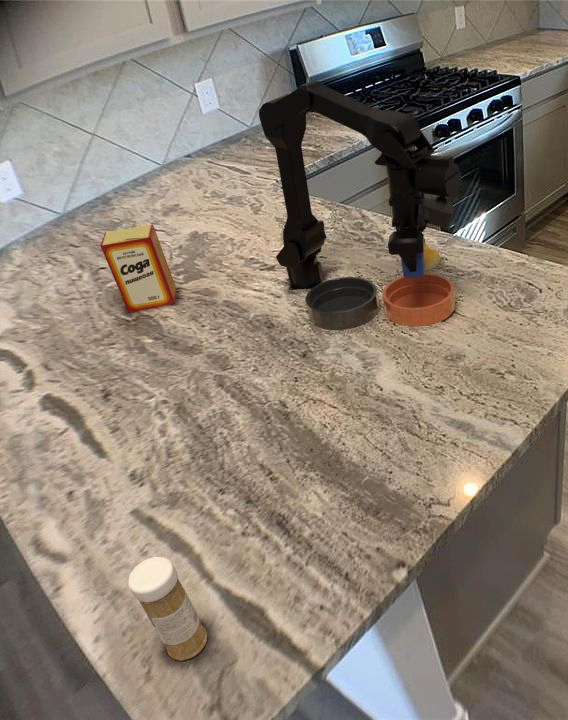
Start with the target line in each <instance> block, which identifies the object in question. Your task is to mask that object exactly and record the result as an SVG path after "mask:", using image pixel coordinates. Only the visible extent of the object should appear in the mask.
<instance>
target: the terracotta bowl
mask: <svg viewBox="0 0 568 720" xmlns="http://www.w3.org/2000/svg"><path fill="white" fill-rule="evenodd" d="M382 302H383V307H384V312H385V315H386V317H387V319H389V320H390V321H391V322H393V323H395V324H398V325H401V326H407V327H425V326H429V325H435V324H437V323H439V322H443V321H445V320H446V319H447V318H449V317H450V316H451V315H452V314H453V312H454V311H455V309H456V295H455V286H454V284H453V282H452V280H450V279H448V278H447V277H446V276H444V275H439V274H436V273H428V272H425V274H424V277H412V278H404V276H403V275H402V276H400V277H397V278H395V279H394V280H392V281H390V282H389V283H387V284H386V286H385V287H384V288H383V290H382Z"/></svg>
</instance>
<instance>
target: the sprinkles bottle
mask: <svg viewBox="0 0 568 720" xmlns="http://www.w3.org/2000/svg"><path fill="white" fill-rule="evenodd" d="M127 586H128V588H129V590H130V592H131V594H132V596H133V597H134V598H135V599H136V600H137V601H138V602H139V604H140V606H141V607H142V609H143V610H144V613H145V614H146V616H147V617H148V619H149V621H150V622H151V626H152V627H153V629H154V631H155V632H156V634H157V636H158V638H159V639H160V640H161V642H162V643H163V645H164V647H165V648H166V650H167V651H166V652H167V654H168V655H169V657H170V658H171V659H173V660H176V661H181V662H183V661H187V660H189V659H193V658H195V657H196V656H197V655H199V654H200V653H201V652H202V650H203V649H204V648H205V646H206V644H207V642H208V631H207V630H206V628H205V627H204V625H202V622H201V620H200V617H199V615H198V613H197V610H196V608H195V607H194V605H193V603H192V601H191V599H190V597H189V595H188V593H187V591H186V589H185V588H184V587H183V584H182V583H181V581H180V579H179V575H178V571H177V569H176V567H175V566H174V564H173V562H172V561H171V559H169V558H168V557H164V556H154V557H150V558H146V559H145V560H143V561H141V562H140V563H138V564H137V565H136V566H135V567H134V568H133V569H132V571H131V572H130V574H129V575H128V579H127Z"/></svg>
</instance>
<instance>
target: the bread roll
mask: <svg viewBox="0 0 568 720" xmlns="http://www.w3.org/2000/svg"><path fill="white" fill-rule="evenodd" d="M400 260H401V259H400ZM424 260H425V271H428V270H432V269H434V268H437V267H438V266H439V264H440V263H441V255H440V253H439V251H438V250H436V249H433V248H431V247H430V246H428V245H426V244H425V245H424ZM401 262H402V260H401Z"/></svg>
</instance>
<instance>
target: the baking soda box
mask: <svg viewBox="0 0 568 720" xmlns="http://www.w3.org/2000/svg"><path fill="white" fill-rule="evenodd" d="M159 239H160V238H159V237H158V234H157V231H156V229H155V226H154V224H147V225H141V226H135V227H129V228H124V229H123V228H122V229H117V230H113V231H112V230H111V231H107V232H104V234H103V237H102V240H101V243H100V249H101V251H102V253H103V256H104V258H105V261H106V263H107V265H108V267H109V270H110V272H111V275H112V277H113V279H114V282H115V284H116V287H117V289H118V292H119V293H120V297H121V298H122V301H123V303H124V305H125V308H126V310H127V313H132V312H133V313H134V312H137V311H143V310H148V309H149V310H150V309H153V308H160V307H164V306H169V305H175V304H176V298H177V286H176V284H175V281H174V278H173V275H172V273H171V270H170V268H169V267H170V266H169V264H168V261H167V258H166V256H165V253H164V250H163V248H162V245H161V243H160V240H159Z"/></svg>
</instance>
